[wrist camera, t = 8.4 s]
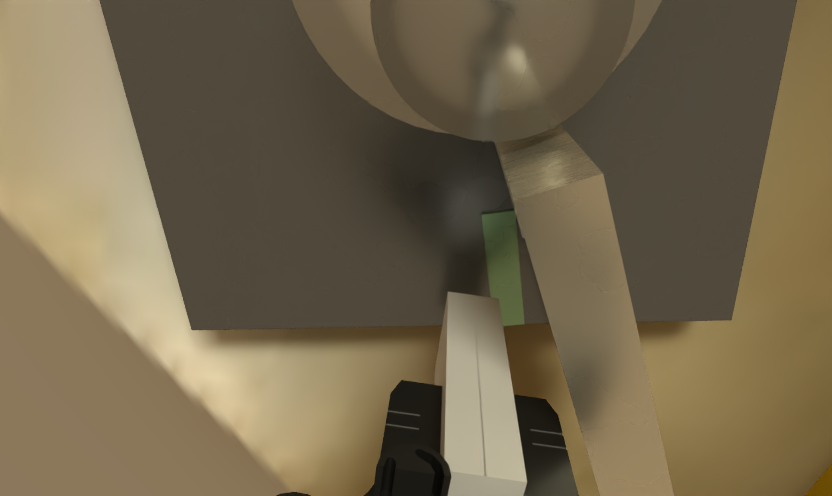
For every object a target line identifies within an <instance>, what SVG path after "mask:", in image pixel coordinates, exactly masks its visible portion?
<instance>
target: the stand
mask: <svg viewBox="0 0 832 496" xmlns="http://www.w3.org/2000/svg"><path fill="white" fill-rule="evenodd" d="M796 2H797V0H662V1H661V3H660V5H659V7H658V9H657V10H656V12H655V14H654V16H653V18H652V20H651V21H650V23H649V25H648V27H647V29H646V30H645V32H644V33H643V34H642V36H641V37H640V39H639V40H638V42H637V43H636V44H635V46H634V47H633V49H632V50H631V52H630V53H629V54H628V55H627V56H626V57H625V58H624V60H623V61H622V62H621V63H620V64H619V65H618V66H617V67H616V69H615V70H614V71H613V72H612V73H611V74H610V75H609V77H608V78H607V80H606V81H605V83H604V84H603V86H602V87H601V88H600V89H599V90H598V92H597V93H596V94H595V95H594V96H593V97H592V98H591V99H590V101H588V102H587V103H586V104H585V105H584V106H583V107H582V108H581V109H580V110H578V111H577V112H576V113H575V114H573V115H572V116H570V117H569V118H568V119H566V120H565V121H563V122H562V123H560V125H561V126H562V127H563V128H564V129H565V130H566V132H567V133H568V134H569V135H570V136H571V137H572V138H573V140H574V141H575V142H576V143H577V144H578V145H579V147H580V148H581V149H582V150H583V151H584V152H585V153H586V155H587V156H588V157H589V158H590V159H591V160H592V161H593V163H594V164H595V165H596V166H597V167H598V168H599V169H600V171H601V172H602V173H603V175H604V179H605V184H606V189H607V193H608V198H609V202H610V207H611V211H612V216H613V220H614V225H615V229H616V234H617V239H618V243H619V248H620V252H621V257H622V261H623V266H624V270H625V275H626V279H627V284H628V288H629V293H630V298H631V302H632V307H633V311H634V316H635V320H636V322H659V321H713V320H732V315H733V310H734V305H735V300H736V295H737V291H738V286H739V281H740V276H741V271H742V266H743V261H744V256H745V251H746V247H747V242H748V237H749V232H750V227H751V222H752V217H753V212H754V207H755V202H756V198H757V193H758V188H759V183H760V178H761V173H762V168H763V163H764V158H765V154H766V149H767V144H768V139H769V134H770V129H771V124H772V119H773V114H774V110H775V105H776V100H777V95H778V90H779V85H780V80H781V75H782V70H783V66H784V61H785V56H786V51H787V46H788V41H789V36H790V31H791V26H792V22H793V17H794V12H795V7H796ZM100 4H101V7H102V11H103V14H104V18H105V21H106V25H107V29H108V32H109V36H110V39H111V43H112V47H113V50H114V54H115V57H116V61H117V64H118V68H119V72H120V75H121V79H122V82H123V86H124V89H125V93H126V97H127V100H128V104H129V107H130V111H131V115H132V118H133V122H134V125H135V129H136V132H137V136H138V140H139V143H140V147H141V150H142V154H143V157H144V161H145V165H146V168H147V172H148V175H149V179H150V182H151V186H152V190H153V193H154V197H155V200H156V204H157V208H158V211H159V215H160V218H161V222H162V225H163V229H164V233H165V236H166V240H167V243H168V247H169V250H170V254H171V258H172V261H173V265H174V268H175V272H176V275H177V279H178V283H179V286H180V290H181V293H182V297H183V301H184V304H185V308H186V311H187V315H188V318H189V322H190V326H191V329H192V330H226V329H281V328H335V327H389V326H442V324H443V318H444V312H445V306H446V300H447V294H448V292H455V293H462V294H469V295H476V296H483V297H491V298H498V299H499V304H500V311H501V317H502V323H503V326H512V325H523V324H550V323H549V320H548V316H547V313H546V309H545V306H544V303H543V299H542V296H541V292H540V289H539V285H538V282H537V279H536V275H535V272H534V268H533V265H532V262H531V258H530V255H529V251H528V248H527V245H526V241H525V238H522V234H521V231H520V228H519V224H518V221H517V217H516V214H515V211H514V207H513V204H512V200H511V197H510V194H509V190H508V187H507V183H506V180H505V177H504V173H503V170H502V166H501V163H500V160H499V156H498V153H497V149H496V146H495V143H494V142H485V141H478V140H470V139H467V138H463V137H459V136H456V135H453V134H449V133H442V132H435V131H431V130H427V129H424V128H420V127H416V126H413V125H411V124H408V123H406V122H403V121H401V120H399V119H396V118H394V117H392V116H390V115H388V114H386V113H385V112H383V111H381V110H380V109H378V108H376V107H374V106H373V105H371V104H370V103H368V102H367V101H366V100H365V99H363V98H362V97H361V96H359V95H358V94H357V93H355V92H354V91H353V90H352V89H351V88H350V87H349V86H348V85H347V84H346V83H345V82H344V81H343V80H342V79H341V78H340V77H339V76H338V75H336V74H335V72H334V71H333V70H332V69H331V67H330V66H329V65H328V64H327V62H326V61H325V60H324V59H323V57H322V56H321V55H320V53H319V52H318V50H317V49H316V47H315V45H314V44H313V42H312V41H311V39H310V37H309V36H308V34H307V32H306V31H305V29H304V26H303V24H302V22H301V20H300V18H299V16H298V14H297V12H296V9H295V7H294V4H293V1H292V0H100Z"/></svg>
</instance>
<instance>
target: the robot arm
mask: <svg viewBox="0 0 832 496" xmlns="http://www.w3.org/2000/svg"><path fill="white" fill-rule="evenodd" d="M277 496H310V495H308V494H303V493H298V492H290V493H284V494H279V495H277ZM364 496H579V495H578V491H577V488H576V484H575V480H574V476H573V472H572V468H571V464H570V460H569V456H568V453H567V450H566V445H565V441H564V437H563V436H562V429H561V425H560V421H559V418H558V415H557V413H556V412H555V411H554V410H553V408H552V407H551V406H550V404H549V403H548V402H547V400H546V399H540V398H533V397H526V396H519V395H514V394H513V388H512V381H511V375H510V368H509V362H508V356H507V349H506V343H505V336H504V330H503V323H502V317H501V311H500V304H499V299H498V298H491V297H483V296H476V295H469V294H462V293H455V292H448V294H447V300H446V306H445V312H444V318H443V324H442V330H441V336H440V342H439V348H438V354H437V360H436V366H435V379H434V385H432V384H424V383H417V382H410V381H403V380H401V382H400V383H399V384H398V385H397V386H396V388H395V389H394V390H393V391H392V392H391V395H390V401H389V407H388V413H387V419H386V426H385V432H384V438H383V444H382V450H381V456H380V459H379V462H378V464H377V467H376V475H375V483H374V485H373V486H372V488H371V489H370V491H369V492H368V493H366V494H365V495H364Z"/></svg>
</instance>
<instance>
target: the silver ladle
mask: <svg viewBox="0 0 832 496" xmlns="http://www.w3.org/2000/svg"><path fill="white" fill-rule="evenodd" d="M292 1H293V4H294V7H295V9H296V12H297V14H298V16H299V18H300V20H301V22H302V24H303V26H304V29H305V31H306V32H307V34H308V36H309V37H310V39H311V41H312V42H313V44H314V45H315V47H316V49H317V50H318V52H319V53H320V55H321V56H322V57H323V59H324V60H325V61H326V62H327V64H328V65H329V66H330V67H331V69H332V70H333V71H334V72H335V74H336V75H338V76H339V77H340V78H341V79H342V80H343V81H344V82H345V83H346V84H347V85H348V86H349V87H350V88H351V89H352V90H353V91H354V92H355V93H357V94H358V95H359V96H361V97H362V98H363V99H365V100H366V101H367V102H368V103H370V104H371V105H373V106H374V107H376V108H378V109H380V110H381V111H383V112H385V113H386V114H388V115H390V116H392V117H394V118H396V119H399V120H401V121H403V122H406V123H408V124H411V125H413V126H416V127H420V128H424V129H427V130H431V131H435V132H442V133H449V134H453V135H456V136H459V137H463V138H467V139H470V140H478V141H485V142H494V143H495V146H496V149H497V153H498V156H499V160H500V163H501V166H502V170H503V173H504V177H505V180H506V183H507V187H508V190H509V194H510V197H511V200H512V204H513V207H514V211H515V214H516V217H517V221H518V224H519V228H520V231H521V234H522V238H525V241H526V245H527V248H528V251H529V255H530V258H531V262H532V265H533V268H534V272H535V275H536V279H537V282H538V285H539V289H540V292H541V296H542V299H543V303H544V306H545V309H546V313H547V316H548V320H549V323H550V326H551V330H552V333H553V337H554V340H555V343H556V347H557V350H558V354H559V357H560V361H561V364H562V367H563V371H564V374H565V378H566V381H567V384H568V388H569V391H570V395H571V398H572V401H573V405H574V408H575V412H576V415H577V418H578V422H579V425H580V429H581V432H582V436H583V439H584V442H585V446H586V449H587V453H588V456H589V459H590V463H591V466H592V470H593V473H594V476H595V480H596V483H597V487H598V490H599V493H600V496H674V493H673V488H672V484H671V479H670V475H669V470H668V466H667V461H666V457H665V452H664V447H663V443H662V438H661V434H660V429H659V425H658V420H657V416H656V411H655V407H654V402H653V397H652V393H651V388H650V384H649V379H648V375H647V370H646V366H645V361H644V357H643V352H642V348H641V343H640V338H639V334H638V329H637V325H636V320H635V316H634V311H633V307H632V302H631V298H630V293H629V288H628V284H627V279H626V275H625V270H624V266H623V261H622V257H621V252H620V248H619V243H618V239H617V234H616V229H615V225H614V220H613V216H612V211H611V207H610V202H609V198H608V193H607V189H606V184H605V179H604V175H603V173H602V172H601V171H600V169H599V168H598V167H597V166H596V165H595V164H594V163H593V161H592V160H591V159H590V158H589V157H588V156H587V155H586V153H585V152H584V151H583V150H582V149H581V148H580V147H579V145H578V144H577V143H576V142H575V141H574V140H573V138H572V137H571V136H570V135H569V134H568V133H567V132H566V130H565V129H564V128H563V127H562V126H561V125H560V123H562V122H563V121H565V120H566V119H568V118H569V117H570V116H572V115H573V114H575V113H576V112H577V111H578V110H580V109H581V108H582V107H583V106H584V105H585V104H586V103H587V102H588V101H590V99H591V98H592V97H593V96H594V95H595V94H596V93H597V92H598V90H599V89H600V88H601V87H602V86H603V84H604V83H605V81H606V80H607V78H608V77H609V75H610V74H611V73H612V72H613V71H614V70H615V69H616V67H617V66H618V65H619V64H620V63H621V62H622V61H623V60H624V58H625V57H626V56H627V55H628V54H629V53H630V52H631V50H632V49H633V47H634V46H635V44H636V43H637V42H638V40H639V39H640V37H641V36H642V34H643V33H644V32H645V30H646V29H647V27H648V25H649V23H650V21H651V20H652V18H653V16H654V14H655V12H656V10H657V9H658V7H659V5H660V3H661V1H662V0H292Z"/></svg>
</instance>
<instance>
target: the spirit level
mask: <svg viewBox="0 0 832 496" xmlns="http://www.w3.org/2000/svg"><path fill="white" fill-rule="evenodd" d="M805 496H832V464H831V465H830V466H829V468H828V469H827V470H826V471H825V472H824V474H823V475H822V476H821V477H820V478H819V480H818V481H817V482H816V483H815V484H814V486H813V487H812V488H811V489H810V490H809V492H808V493H807V494H806V495H805Z"/></svg>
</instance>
